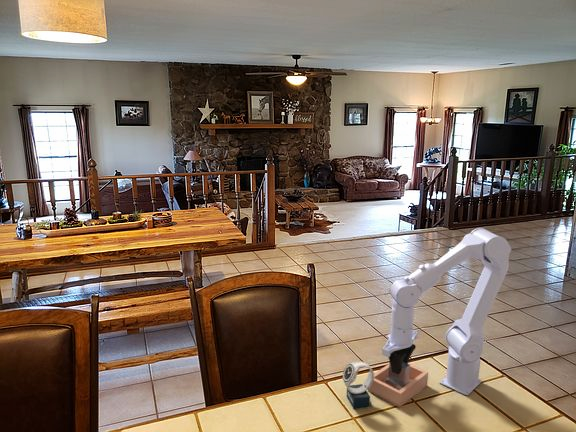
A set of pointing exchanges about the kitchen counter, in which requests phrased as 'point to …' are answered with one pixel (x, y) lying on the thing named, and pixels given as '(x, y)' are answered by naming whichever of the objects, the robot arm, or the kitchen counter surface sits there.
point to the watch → (357, 392)
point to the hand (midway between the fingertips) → (398, 370)
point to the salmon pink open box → (395, 394)
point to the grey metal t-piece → (399, 376)
